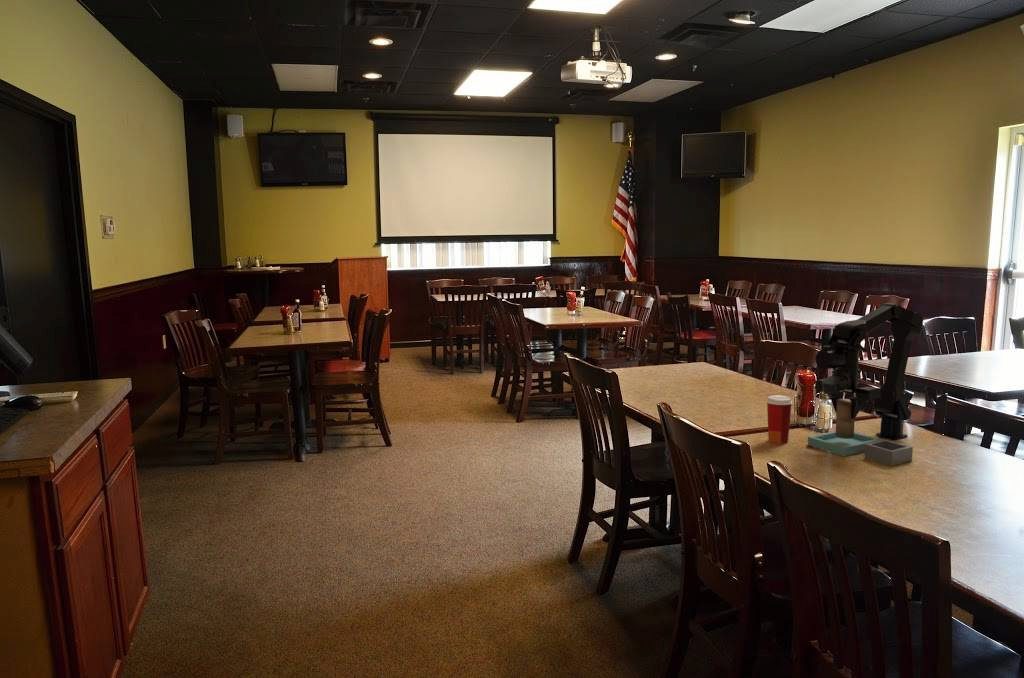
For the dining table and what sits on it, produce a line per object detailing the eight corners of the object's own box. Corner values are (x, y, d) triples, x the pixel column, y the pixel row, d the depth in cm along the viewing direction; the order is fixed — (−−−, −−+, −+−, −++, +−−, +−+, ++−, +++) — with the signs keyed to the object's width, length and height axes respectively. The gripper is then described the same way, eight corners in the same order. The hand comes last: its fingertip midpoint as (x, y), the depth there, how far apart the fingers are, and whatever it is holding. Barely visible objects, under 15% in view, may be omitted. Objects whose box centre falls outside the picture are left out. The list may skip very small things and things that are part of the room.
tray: (843, 436, 225) (844, 429, 225) (881, 447, 214) (881, 439, 213) (807, 444, 218) (807, 436, 218) (844, 456, 207) (844, 447, 206)
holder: (884, 452, 209) (884, 439, 208) (912, 460, 201) (912, 446, 200) (864, 457, 205) (864, 443, 204) (891, 465, 197) (892, 451, 197)
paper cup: (787, 438, 226) (788, 394, 223) (794, 445, 218) (795, 400, 216) (761, 438, 226) (762, 394, 224) (768, 445, 219) (769, 400, 217)
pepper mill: (843, 433, 219) (844, 398, 217) (857, 437, 214) (859, 401, 213) (831, 435, 217) (833, 400, 215) (846, 439, 212) (847, 403, 210)
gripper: (802, 364, 217) (801, 414, 219) (856, 374, 200) (854, 428, 203) (828, 360, 222) (826, 409, 224) (883, 369, 205) (880, 422, 208)
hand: (845, 416), depth 215 cm, fingers closed on pepper mill, 5 cm apart
